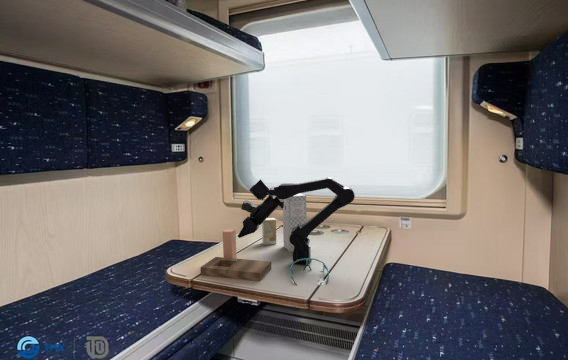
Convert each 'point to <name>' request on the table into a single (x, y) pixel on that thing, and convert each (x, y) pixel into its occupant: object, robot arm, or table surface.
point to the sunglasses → (309, 267)
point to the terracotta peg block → (229, 243)
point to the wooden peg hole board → (236, 268)
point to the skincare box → (269, 231)
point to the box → (293, 216)
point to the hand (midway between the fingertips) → (241, 234)
